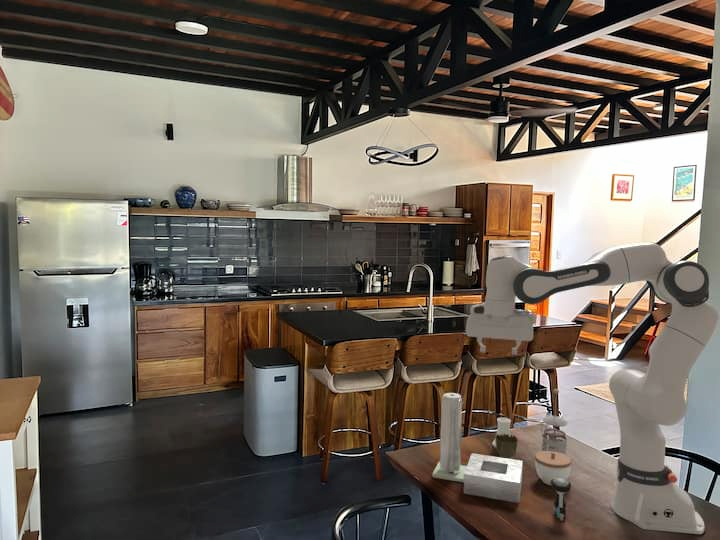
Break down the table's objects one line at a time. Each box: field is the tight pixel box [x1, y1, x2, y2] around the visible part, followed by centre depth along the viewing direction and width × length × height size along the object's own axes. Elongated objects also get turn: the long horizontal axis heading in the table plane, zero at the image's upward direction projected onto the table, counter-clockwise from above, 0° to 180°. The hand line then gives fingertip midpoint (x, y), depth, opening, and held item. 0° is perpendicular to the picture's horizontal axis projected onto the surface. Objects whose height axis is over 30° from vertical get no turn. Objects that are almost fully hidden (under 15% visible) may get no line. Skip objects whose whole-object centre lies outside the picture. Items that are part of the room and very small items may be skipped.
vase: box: [492, 417, 512, 448], centre depth 193 cm, size 8×8×10 cm
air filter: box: [439, 392, 463, 475], centre depth 170 cm, size 6×6×25 cm
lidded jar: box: [534, 450, 572, 486], centre depth 166 cm, size 11×11×9 cm
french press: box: [540, 388, 569, 455], centre depth 182 cm, size 10×12×25 cm
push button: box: [550, 477, 572, 521], centre depth 146 cm, size 7×5×10 cm
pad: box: [431, 461, 467, 483], centre depth 171 cm, size 10×10×1 cm
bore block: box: [463, 452, 524, 504], centre depth 162 cm, size 16×16×6 cm
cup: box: [494, 433, 519, 459], centre depth 181 cm, size 8×7×8 cm
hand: (498, 352), depth 163 cm, fingers open, 8 cm apart
